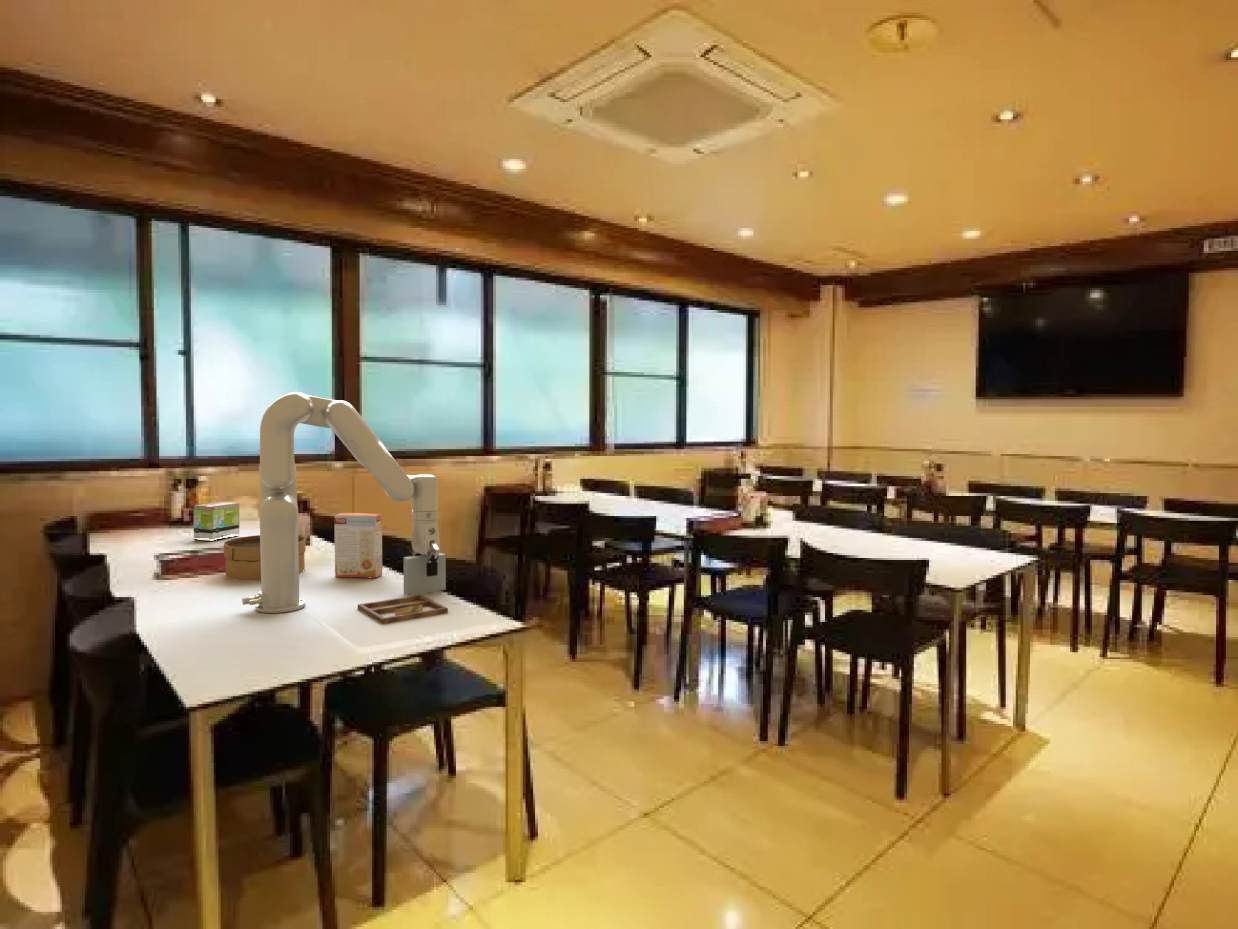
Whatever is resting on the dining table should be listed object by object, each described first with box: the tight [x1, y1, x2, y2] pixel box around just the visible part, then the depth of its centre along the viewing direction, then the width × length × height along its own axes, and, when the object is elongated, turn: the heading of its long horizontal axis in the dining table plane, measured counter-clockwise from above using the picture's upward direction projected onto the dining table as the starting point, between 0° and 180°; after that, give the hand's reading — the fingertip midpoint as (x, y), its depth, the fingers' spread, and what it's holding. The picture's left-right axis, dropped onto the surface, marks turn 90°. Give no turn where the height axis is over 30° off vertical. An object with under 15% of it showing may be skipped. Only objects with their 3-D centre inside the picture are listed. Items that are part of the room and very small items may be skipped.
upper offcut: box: [394, 605, 424, 616], centre depth 195 cm, size 8×4×2 cm, turn 169°
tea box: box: [193, 501, 240, 539], centre depth 308 cm, size 15×10×15 cm, turn 167°
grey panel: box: [403, 552, 447, 596], centre depth 219 cm, size 12×3×12 cm, turn 129°
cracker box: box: [333, 512, 383, 579], centre depth 242 cm, size 14×6×21 cm, turn 84°
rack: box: [357, 594, 449, 625], centre depth 198 cm, size 18×18×2 cm
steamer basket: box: [223, 534, 307, 581], centre depth 247 cm, size 25×25×11 cm
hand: (425, 572), depth 219 cm, fingers open, 9 cm apart
